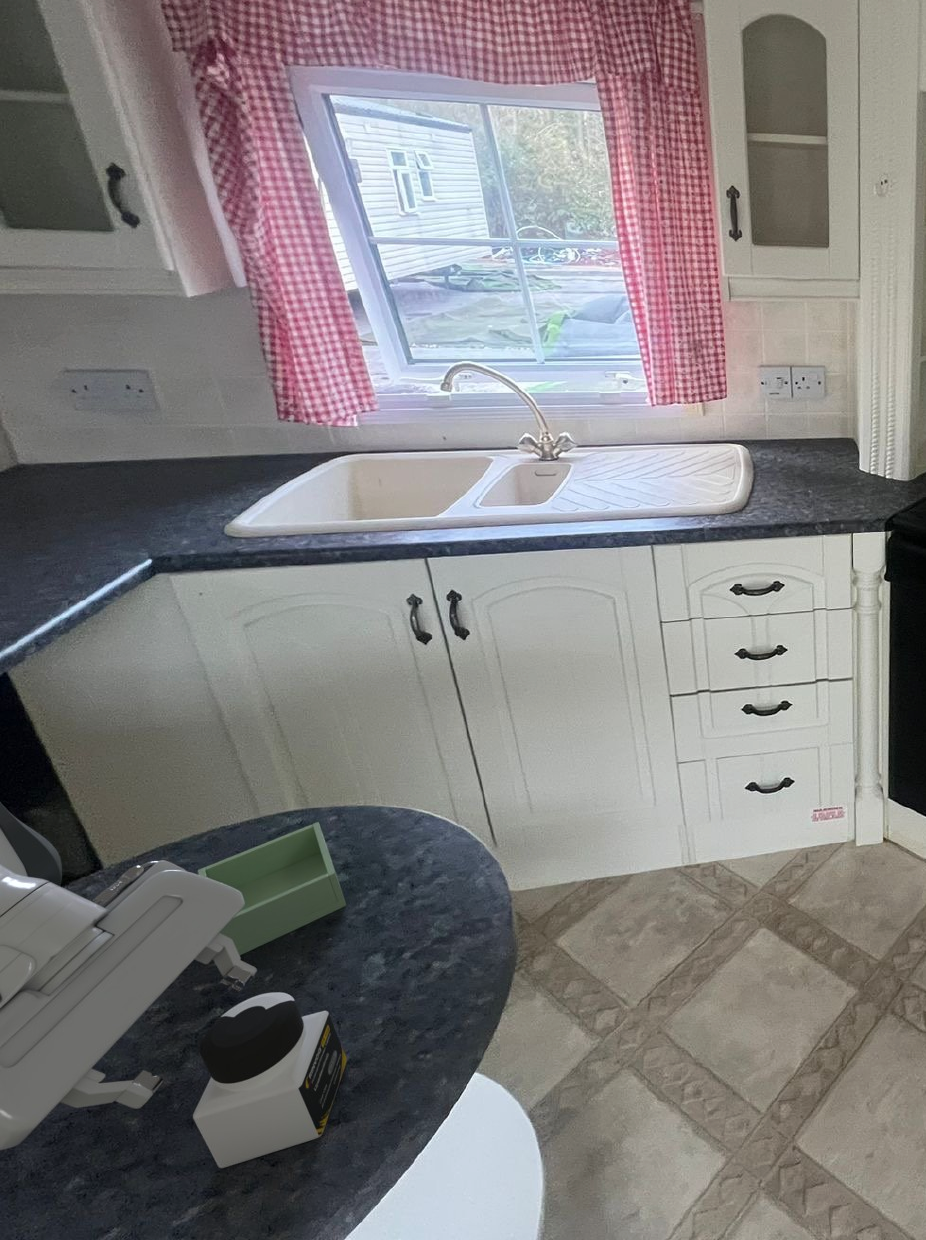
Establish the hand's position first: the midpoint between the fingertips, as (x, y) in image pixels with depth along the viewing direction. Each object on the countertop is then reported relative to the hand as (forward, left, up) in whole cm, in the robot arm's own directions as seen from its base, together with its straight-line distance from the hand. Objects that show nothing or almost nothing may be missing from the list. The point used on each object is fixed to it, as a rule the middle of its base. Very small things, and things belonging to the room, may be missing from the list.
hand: (203, 1034), depth 65 cm
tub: (+5, +26, -10) cm, 28 cm away
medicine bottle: (+3, -2, -11) cm, 11 cm away
